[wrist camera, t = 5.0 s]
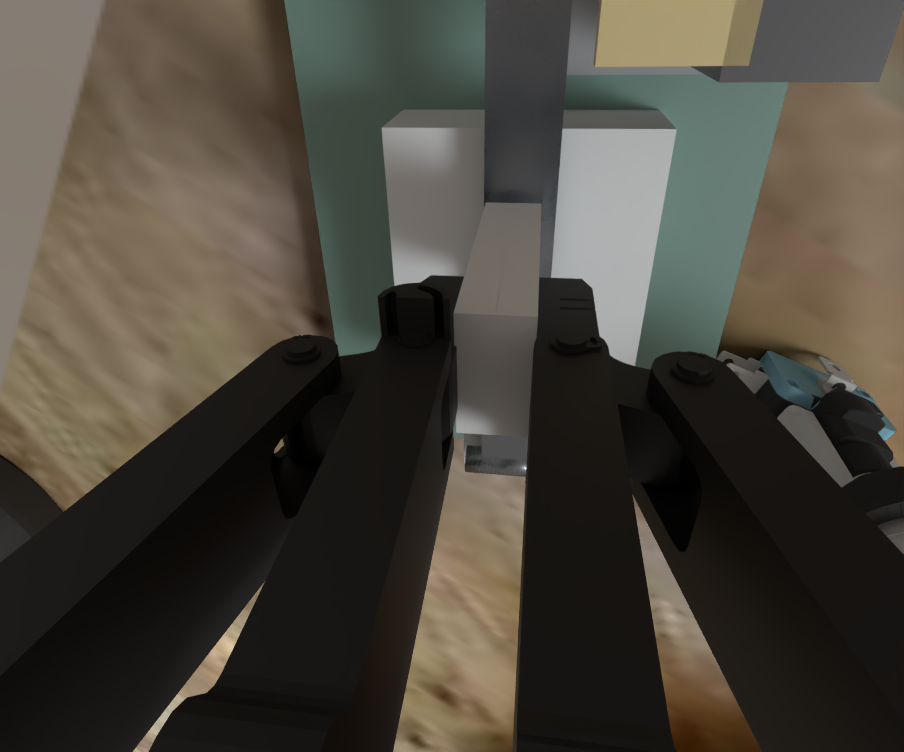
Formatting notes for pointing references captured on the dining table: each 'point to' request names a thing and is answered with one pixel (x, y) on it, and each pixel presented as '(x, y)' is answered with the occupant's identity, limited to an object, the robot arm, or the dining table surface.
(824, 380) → the push button
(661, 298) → the board
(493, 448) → the strap
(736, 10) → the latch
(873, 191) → the dining table surface
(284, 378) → the robot arm
